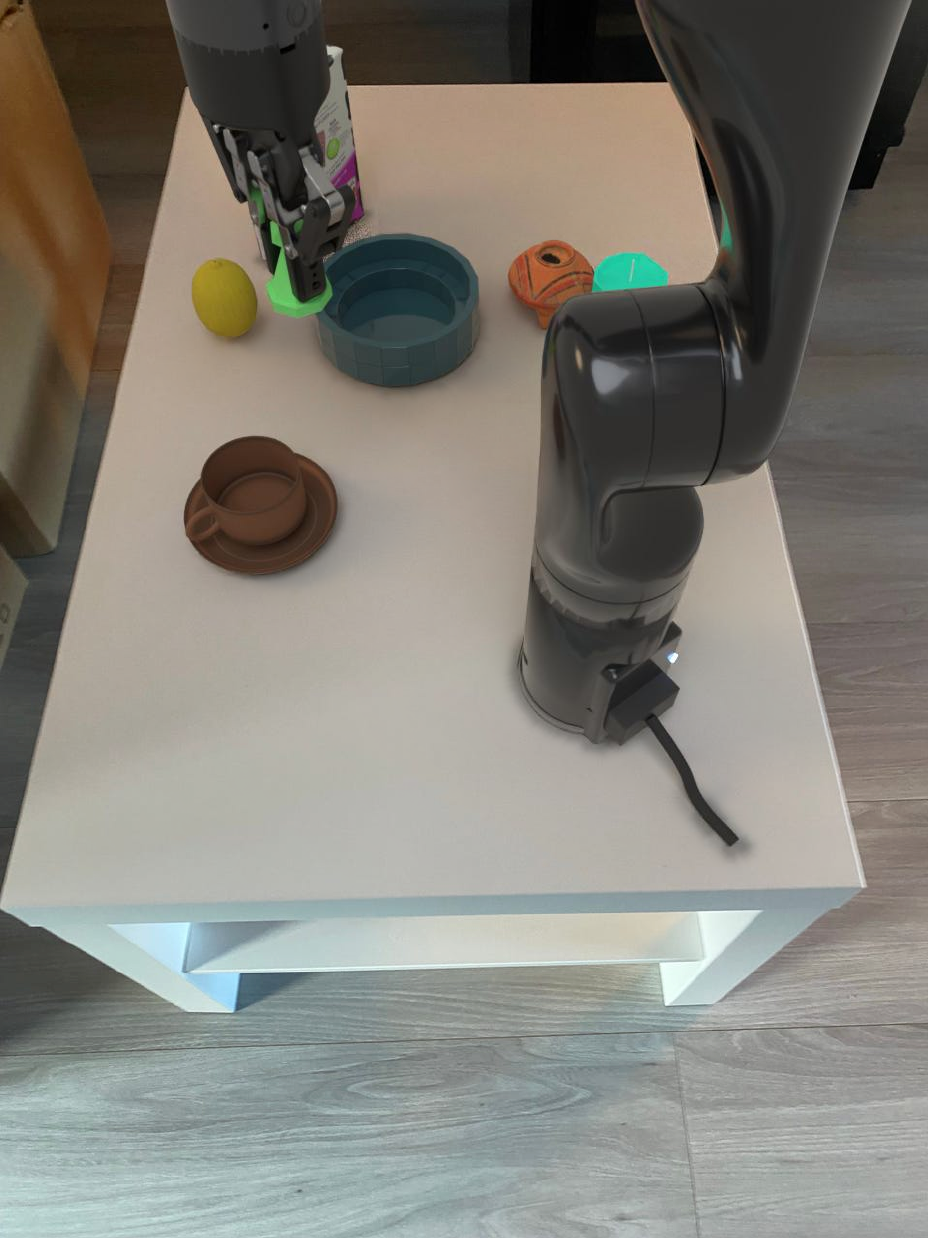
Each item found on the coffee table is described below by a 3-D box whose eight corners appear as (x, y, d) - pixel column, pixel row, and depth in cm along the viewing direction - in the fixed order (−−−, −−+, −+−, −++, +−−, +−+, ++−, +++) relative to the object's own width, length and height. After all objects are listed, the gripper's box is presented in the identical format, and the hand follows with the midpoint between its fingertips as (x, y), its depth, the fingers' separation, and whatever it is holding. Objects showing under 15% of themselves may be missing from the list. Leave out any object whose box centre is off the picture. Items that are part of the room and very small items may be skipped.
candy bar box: (325, 198, 97) (299, 30, 83) (365, 214, 95) (346, 46, 81) (257, 261, 92) (218, 94, 78) (298, 279, 91) (266, 112, 77)
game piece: (304, 264, 64) (289, 184, 59) (346, 294, 63) (334, 215, 58) (254, 295, 63) (234, 216, 58) (296, 327, 61) (279, 249, 56)
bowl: (510, 341, 86) (512, 297, 82) (379, 415, 82) (374, 373, 77) (415, 257, 92) (413, 212, 88) (288, 322, 88) (278, 277, 83)
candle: (610, 408, 82) (630, 297, 72) (566, 368, 84) (579, 254, 74) (662, 378, 84) (688, 265, 73) (617, 339, 86) (637, 224, 76)
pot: (486, 315, 87) (495, 244, 83) (532, 286, 92) (544, 217, 87) (558, 349, 85) (573, 278, 80) (602, 318, 89) (618, 249, 85)
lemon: (254, 359, 85) (235, 287, 78) (195, 351, 86) (171, 278, 79) (272, 317, 88) (255, 244, 81) (216, 309, 89) (194, 236, 82)
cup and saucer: (282, 609, 72) (267, 563, 66) (158, 545, 75) (134, 496, 70) (369, 499, 77) (361, 449, 72) (250, 443, 80) (234, 391, 75)
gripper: (110, -32, 49) (194, 251, 64) (254, 91, 43) (309, 370, 58) (235, -77, 51) (289, 206, 66) (387, 34, 46) (408, 316, 60)
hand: (298, 282), depth 62 cm, fingers closed on game piece, 2 cm apart
